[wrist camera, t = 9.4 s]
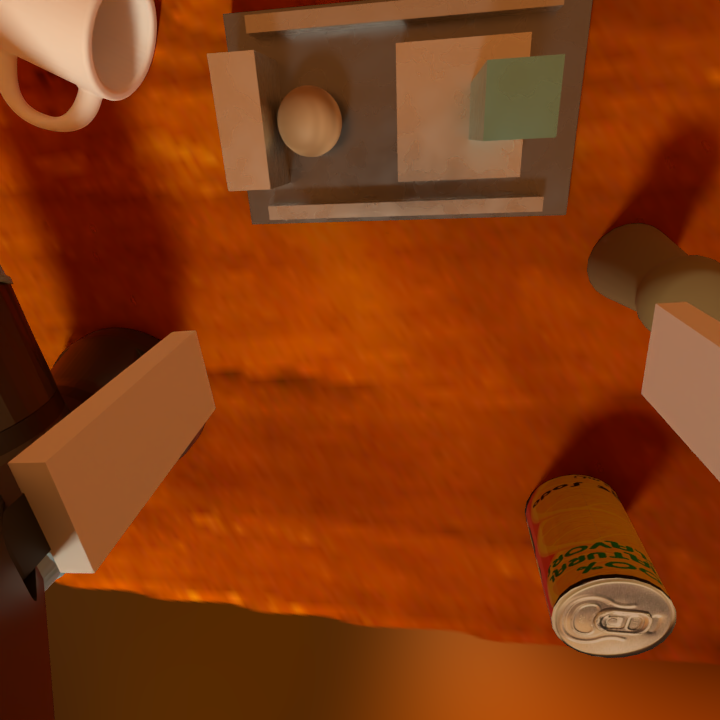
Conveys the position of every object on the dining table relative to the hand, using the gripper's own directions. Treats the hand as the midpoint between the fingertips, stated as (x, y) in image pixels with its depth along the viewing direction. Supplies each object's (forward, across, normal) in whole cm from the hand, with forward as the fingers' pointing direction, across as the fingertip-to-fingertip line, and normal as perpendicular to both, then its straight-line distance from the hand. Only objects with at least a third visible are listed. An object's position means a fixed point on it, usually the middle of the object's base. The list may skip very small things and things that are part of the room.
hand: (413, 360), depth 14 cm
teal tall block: (+25, +3, +7) cm, 26 cm away
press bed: (+27, 0, +7) cm, 28 cm away
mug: (+28, -24, +14) cm, 39 cm away
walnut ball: (+23, -7, +8) cm, 25 cm away
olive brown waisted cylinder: (+26, +16, -4) cm, 31 cm away
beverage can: (+26, +14, -29) cm, 42 cm away
